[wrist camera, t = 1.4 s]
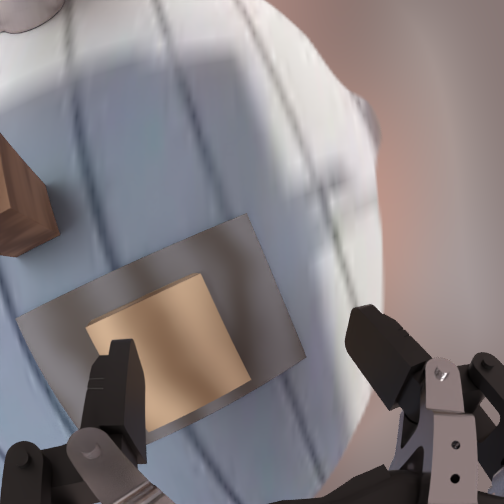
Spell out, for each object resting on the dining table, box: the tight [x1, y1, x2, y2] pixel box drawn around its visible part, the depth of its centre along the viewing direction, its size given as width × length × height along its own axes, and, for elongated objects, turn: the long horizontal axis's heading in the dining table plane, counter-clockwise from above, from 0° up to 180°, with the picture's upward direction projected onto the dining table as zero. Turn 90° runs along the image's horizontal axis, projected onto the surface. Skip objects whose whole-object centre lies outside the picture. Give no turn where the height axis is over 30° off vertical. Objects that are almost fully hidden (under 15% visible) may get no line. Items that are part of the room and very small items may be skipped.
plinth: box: [16, 213, 306, 445], centre depth 24 cm, size 24×16×4 cm, turn 116°
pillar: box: [0, 133, 60, 257], centre depth 16 cm, size 5×5×12 cm
